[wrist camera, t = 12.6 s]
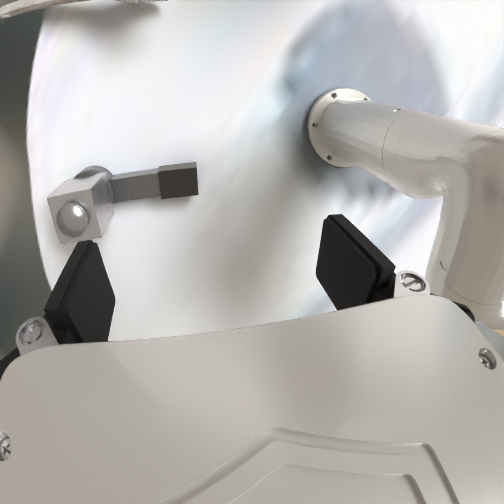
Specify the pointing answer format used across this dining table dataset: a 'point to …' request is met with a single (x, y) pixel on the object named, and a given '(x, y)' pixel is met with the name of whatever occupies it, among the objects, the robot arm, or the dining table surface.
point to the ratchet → (150, 182)
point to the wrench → (41, 5)
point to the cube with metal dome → (81, 208)
